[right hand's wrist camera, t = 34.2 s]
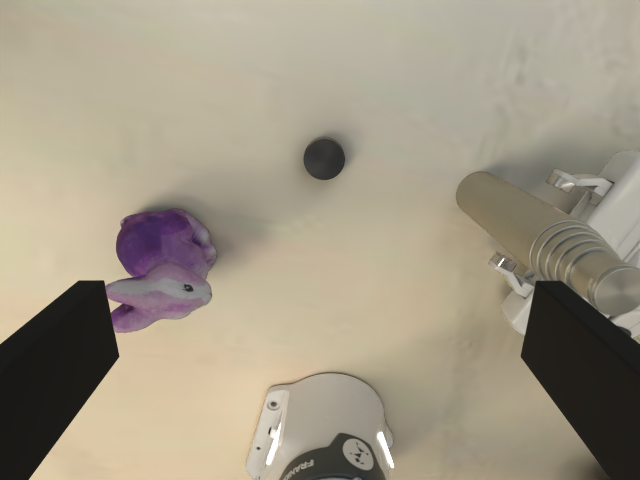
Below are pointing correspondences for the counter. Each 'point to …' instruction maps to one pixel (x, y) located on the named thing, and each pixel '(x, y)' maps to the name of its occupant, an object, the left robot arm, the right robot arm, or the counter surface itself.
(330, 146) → the cap
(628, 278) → the bottle
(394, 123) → the counter surface
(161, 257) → the figurine
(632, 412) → the right robot arm
